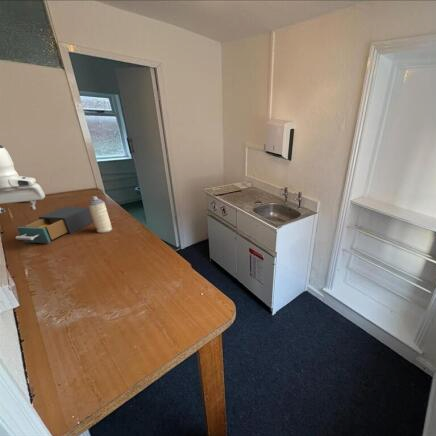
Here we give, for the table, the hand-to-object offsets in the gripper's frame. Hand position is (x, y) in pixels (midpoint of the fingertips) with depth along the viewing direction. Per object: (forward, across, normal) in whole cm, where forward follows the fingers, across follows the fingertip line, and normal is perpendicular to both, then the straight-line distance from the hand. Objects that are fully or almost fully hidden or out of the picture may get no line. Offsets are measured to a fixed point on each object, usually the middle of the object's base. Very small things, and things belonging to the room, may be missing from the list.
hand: (18, 211), depth 107 cm
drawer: (+17, +4, +5) cm, 18 cm away
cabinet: (+18, +12, +17) cm, 27 cm away
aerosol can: (+18, +28, +3) cm, 33 cm away
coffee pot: (+18, -17, +80) cm, 84 cm away
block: (+16, +4, +6) cm, 18 cm away
